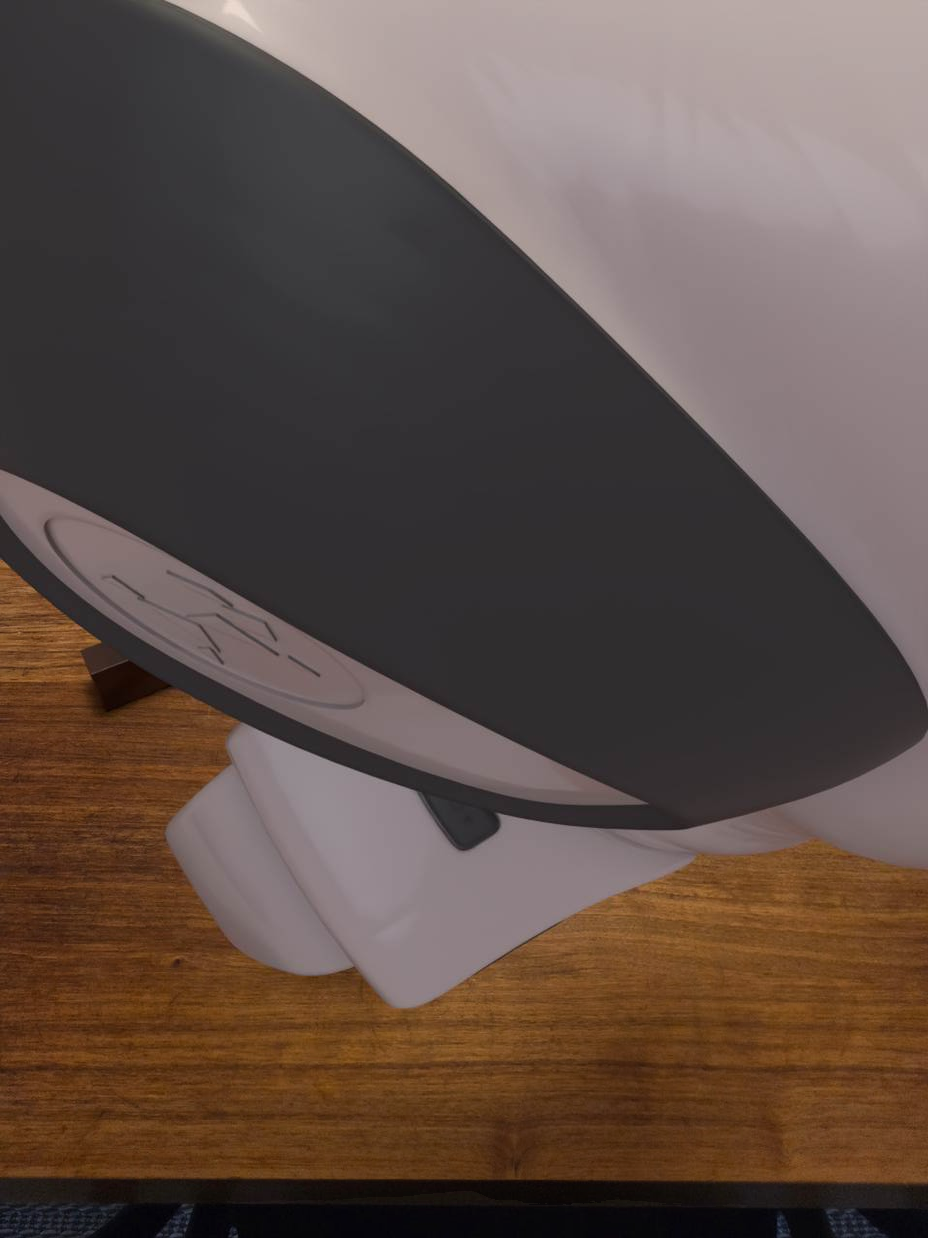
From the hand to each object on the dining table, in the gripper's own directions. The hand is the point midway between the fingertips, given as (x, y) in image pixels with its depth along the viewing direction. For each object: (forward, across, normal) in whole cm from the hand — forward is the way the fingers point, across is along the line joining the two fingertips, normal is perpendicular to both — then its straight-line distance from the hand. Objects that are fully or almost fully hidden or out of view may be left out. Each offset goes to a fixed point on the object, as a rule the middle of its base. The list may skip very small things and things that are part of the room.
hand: (423, 710), depth 32 cm
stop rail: (+41, -3, -9) cm, 42 cm away
